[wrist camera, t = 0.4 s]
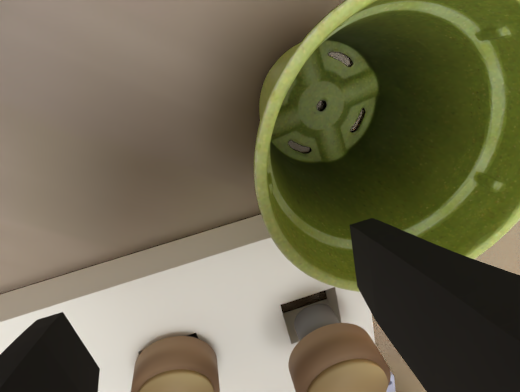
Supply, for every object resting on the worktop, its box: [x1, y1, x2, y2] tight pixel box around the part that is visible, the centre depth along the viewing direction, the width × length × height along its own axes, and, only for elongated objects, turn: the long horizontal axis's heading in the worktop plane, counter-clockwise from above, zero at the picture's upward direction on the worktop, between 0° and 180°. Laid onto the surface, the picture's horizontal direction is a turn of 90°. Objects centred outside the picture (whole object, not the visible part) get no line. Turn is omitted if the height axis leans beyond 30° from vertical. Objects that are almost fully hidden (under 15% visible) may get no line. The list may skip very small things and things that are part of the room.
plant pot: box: [254, 0, 520, 292], centre depth 14 cm, size 9×9×9 cm
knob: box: [288, 303, 391, 392], centre depth 18 cm, size 4×4×5 cm
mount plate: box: [0, 214, 375, 392], centre depth 20 cm, size 12×23×2 cm, turn 103°
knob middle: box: [131, 333, 220, 392], centre depth 19 cm, size 4×4×5 cm
